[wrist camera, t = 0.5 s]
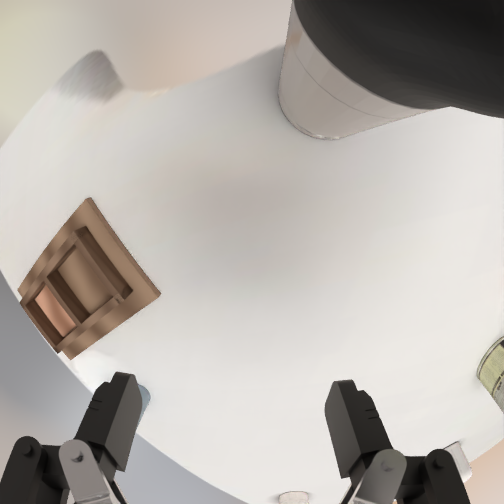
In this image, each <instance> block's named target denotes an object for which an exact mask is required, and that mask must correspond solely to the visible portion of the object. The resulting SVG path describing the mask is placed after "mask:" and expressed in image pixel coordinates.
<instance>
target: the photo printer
mask: <svg viewBox="0 0 504 504" xmlns="http://www.w3.org/2000/svg"><path fill="white" fill-rule="evenodd" d="M444 450H446V451H448V452H449V453H450V454H451V455H452V456H453V459H454V461H455V463H456V466H457V468H458V471H459V473H460V476H461V479H462V481H463V483H465V482H466V481H467V480H468V479H469V478H470V477H471V476H472V471H471V467H470V465H469V463H468V461H467V459H466V456H465V454H464V452H463V450H462V448H461V446H460V444H459V442H457V443H455V444H453V445H451V446H449V447H447V448H445V449H444Z"/></svg>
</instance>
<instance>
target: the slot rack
mask: <svg viewBox="0 0 504 504" xmlns="http://www.w3.org/2000/svg"><path fill="white" fill-rule="evenodd" d="M18 292H19V293H20V295H21V296H22V300H21V301H20V304H21V306H22V307H23V309H24V310H25V312H26V313H27V315H28V316H29V318H30V319H31V320H32V322H33V323H34V324H35V326H36V327H37V328H38V330H39V331H40V332H41V334H42V335H43V336H44V338H45V339H46V340H47V341H48V343H49V344H50V345H51V346H52V348H53V349H54V350H55V351H56V352H57V354H58V353H59V352H60V351H63V352H64V354H65V355H66V356H67V357H68V358H69V359H70V360H72V359H73V358H74V357H76V356H77V355H78V354H80V353H81V352H83V351H84V350H85V349H87V348H88V347H89V346H91V345H92V344H94V343H95V342H96V341H98V340H99V339H101V338H102V337H103V336H105V335H106V334H107V333H109V332H110V331H112V330H113V329H114V328H116V327H117V326H119V325H120V324H121V323H123V322H124V321H126V320H127V319H129V318H130V317H131V316H133V315H134V314H136V313H137V312H138V311H140V310H141V309H143V308H144V307H145V306H147V305H148V304H150V303H151V302H153V301H154V300H155V299H157V298H158V297H159V296H160V295H161V293H160V292H159V291H158V289H157V288H156V287H155V286H154V284H153V283H152V282H151V281H150V279H149V278H148V277H147V276H146V274H145V273H144V272H143V270H142V269H141V268H140V267H139V265H138V264H137V263H136V261H135V260H134V259H133V257H132V256H131V255H130V253H129V252H128V251H127V249H126V248H125V247H124V245H123V244H122V242H121V241H120V240H119V238H118V237H117V235H116V234H115V233H114V231H113V230H112V228H111V227H110V226H109V224H108V223H107V221H106V220H105V218H104V217H103V215H102V214H101V212H100V211H99V209H98V208H97V206H96V205H95V203H94V202H93V200H92V199H91V198H87V199H85V201H84V202H83V203H82V204H81V205H80V206H79V207H78V209H77V210H76V211H75V212H74V213H73V214H72V216H71V217H70V218H69V219H68V220H67V222H66V223H65V224H64V225H63V227H62V228H61V229H60V230H59V232H58V233H57V234H56V235H55V237H54V238H53V239H52V241H51V242H50V243H49V245H48V246H47V247H46V249H45V250H44V251H43V253H42V254H41V255H40V257H39V258H38V260H37V261H36V263H35V264H34V265H33V267H32V268H31V270H30V271H29V273H28V274H27V276H26V277H25V279H24V280H23V282H22V284H21V285H20V287H19V288H18Z"/></svg>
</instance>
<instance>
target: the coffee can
mask: <svg viewBox="0 0 504 504" xmlns="http://www.w3.org/2000/svg"><path fill="white" fill-rule="evenodd" d="M477 378H478V379H479V380H480V381H481V383H482V384H483V385H484V386H485V388H486V389H487V391H488V392H489V393H490V395H491V396H492V397H493V399H494V400H495V402H496V403H497V404H498V406H499V407H500V409H501V410H502V412H503V413H504V337H502V338H500V339H499V340H498V341H497V342H495V343H494V344H493V345H492V347H491V348H490V349H489V350H488V351H487V353H486V354H485V356H484V357H483V359H482V361H481V363H480V365H479V367H478V371H477Z"/></svg>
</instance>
